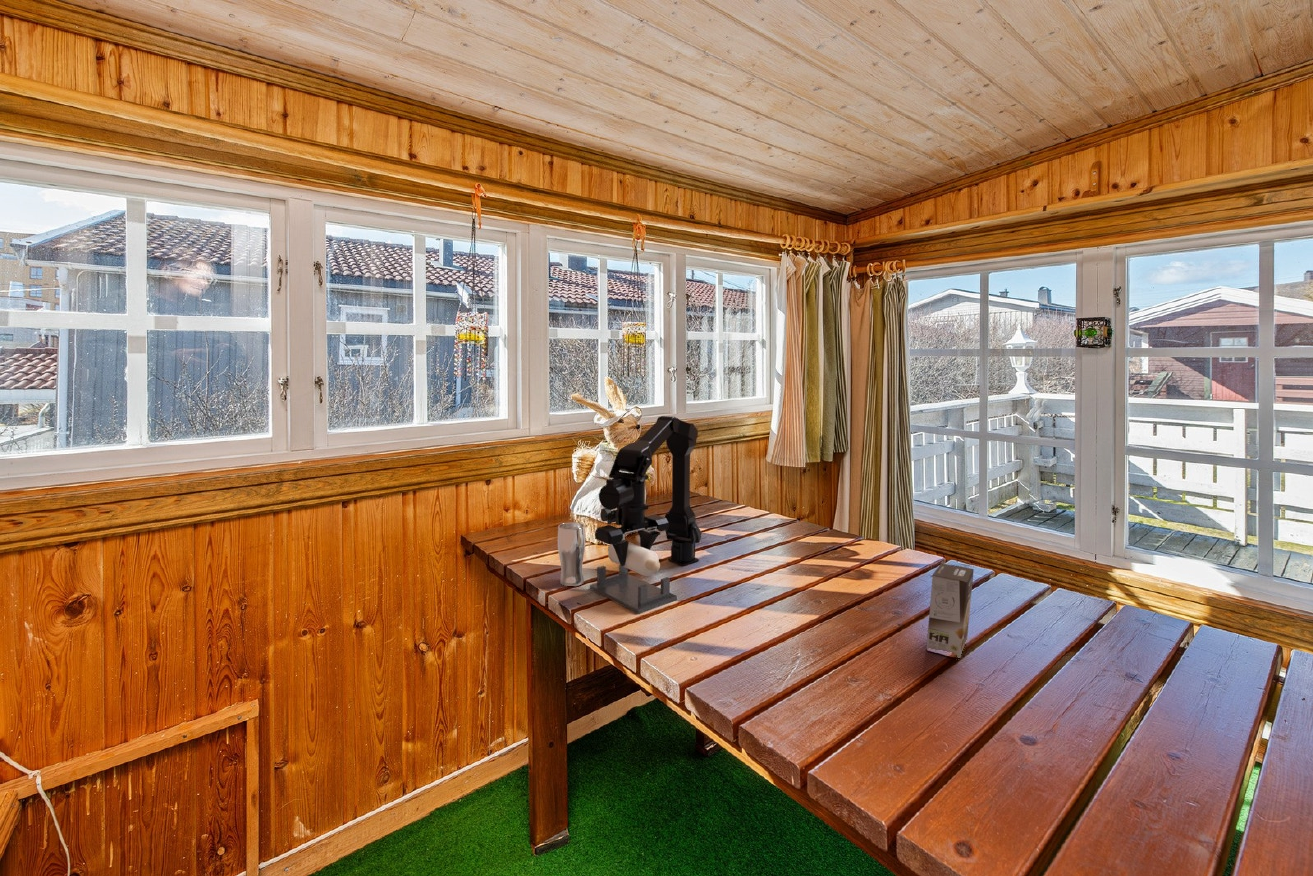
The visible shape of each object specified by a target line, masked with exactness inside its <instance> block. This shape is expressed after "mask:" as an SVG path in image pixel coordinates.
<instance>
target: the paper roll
mask: <svg viewBox="0 0 1313 876" xmlns="http://www.w3.org/2000/svg"><path fill="white" fill-rule="evenodd" d="M607 553H608V554H607V555H608V559H609V560H610V561H611V562H612V563H614V564H617V565H618V566H619V565H620V562H619V559H618V557H617V554H616V551H615V549H614V547H613V545H612V544H608V548H607ZM623 567H625V568H628V570H630V571H632V572H635V573H636V574H639V575H642V576H644V577H650V576H652V575H653V574H655V572H658V571H659V570H660V567H661V564H660V561H659V555H658V554H657V553H656V552H655V551H653V550H651V549H650V550H648V549H646V548H643V547H640V545H637V544H636V543H634V542H630V541H629V543H628V549H627V556H626V562H625V566H623Z"/></svg>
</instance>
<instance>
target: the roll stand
mask: <svg viewBox="0 0 1313 876" xmlns="http://www.w3.org/2000/svg"><path fill="white" fill-rule="evenodd" d="M628 572H629V569H628V568H625V567H623V566H621V565H619V564H618V573H616V574H613V575H609V576H607V567H606V566H605V565H601V566H597V568H596V582H595V583H592V584H589V590H591V591H592V592H595V593H597V594H599V595H601V596H602V597H605V598H607V599H609V600H611V601H612V602H614V603H616V604H619V605H620V606H623V607H624V608H627V610H630V611H632V612H634V613H636V614H637V615H639V614H642V613H645V612H648V611H651V610H653V609H657V608H659V607H661V606H665V605H666V604H669V603H672V602H675V601H677V600H678V596H677V595H676V594H673V593H671V592H670V588H671V586H670V583H671V580H670V579H671V578H670V577H666V576H665V577H663V578H660V587H658V586H655V585H654V584H651V583H649V582H647V581H645V580H642V579H640V578H638V577H636V576H633V575H632V574H629V573H628Z"/></svg>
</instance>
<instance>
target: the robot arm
mask: <svg viewBox="0 0 1313 876" xmlns="http://www.w3.org/2000/svg"><path fill="white" fill-rule="evenodd" d="M698 431H699V430H698V428H697V427H696V425H695V424H694V423H691V422H687V421H683V420H681V419H679V418H677V417H676V416H670V415H669V416H667V415H666V416H665V415H660V416H658V418H657V419H656V422H655V423H654V424H653V425H652V426H651V427H650V428H649V429H648V430H647V431H646V432H645V433H644V434H643V435H641V437H640V438H639V439H638V440H637V441H634V442H631V443H628V444H626V445H624V446H623V447H621V448H620V449H619V450H618V451H617V454H616V456H615V458H614V461H613V464H612V467H611V469H610V472H609V474H608V478H607V479H606V481H605V485H603V486H602V487H601V488H600V490H599V493H598V499H599V503H600V504H601V506H602V507H603V508H601V509H600V519H601V521H602V523H604V522H607V523H606V525H603V526H599V527H596V530H595V531H594V532H595V534H594V539H595V540H597V541H600V542H602V543H604V544H607V545H610V544H612V545H613V547H614V549H615V551H616V554H617V557H618V559H619V562H620V565H621V566H625V562H626V556H627V549H628V543H629V542H630V541H628V540H626V538H625V536H626V535H628V534H633V533H637V534H638V536H639V546H640V547H643V548H646V549H648V550H651V548H652V546H653V545H654V543H655V542H656V539H658V536H660V535H661V532H665V536H666V539H667V540H670V541H671V547H670V557H668V558H667V561H670V562H672V563H674V564H678V565H681V566H683V567H684V566H687V565H690V564H694V563H697V562H700V559H699V558H697V557H696V544H699V543H700V542H701V540H702V530H701V529H700V527H699V526H698V523H697V521H696V514H695V512H694V510H693V508H692V507H691V504H690V501H691V453H692V452H693V451H694V449H695V447H696V445H697V439H698V436H699V432H698ZM665 442H666V447H667V448H668V451H669V452H670V454H671V456H672V457H671V458H672V459H671V460H672V461H671V467H672V468H671V481H672V482H671V485H672V486H671V499H672V500H671V508H670V509H669V510H668V512H666V513H665V515H664V516H661V515H657V514H651V515H645V513H646V510H649V504H646V481H647V480H649V478H650V477H649V475H648V474H647V472H648V470H649V469H650V467H651V465H652V464H653V455H654V454H655V453H656V452H657V450H659V448H660V447H661V446H662V445H663V444H664V443H665ZM612 524H615V525H617V526H620V527H616V526H613V525H612Z"/></svg>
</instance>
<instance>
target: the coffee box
mask: <svg viewBox="0 0 1313 876" xmlns="http://www.w3.org/2000/svg"><path fill="white" fill-rule="evenodd" d="M974 570H975V569H974V568H971V567H965V566H960V565H955V564H949V563H948V564H947V563H940V565H938V567H937V568H936V570H934V572H933V574H932V577H931V578H932V579H931V591H930V603H929V614H928V627H927V635H926V636H927V638H926V648H927V647H928V648H931V649H935V650H943V651H947V652H952V653H954V654H955V655H957V657H958V658H960V659H961V658H962V655H963V653H962V651H963V652H964V650H963V648H964V645H965V642H966V640H967V641H968V634H969V624H970V613H971V602H972V590H973V582H974V579H973V578H974ZM964 649H965V648H964ZM961 654H962V655H961Z"/></svg>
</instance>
